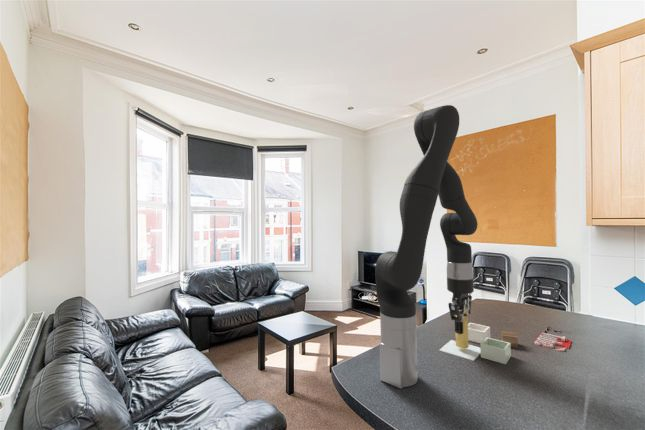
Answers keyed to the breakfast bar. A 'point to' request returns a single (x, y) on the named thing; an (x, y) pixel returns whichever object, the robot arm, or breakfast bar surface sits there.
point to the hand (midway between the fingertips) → (461, 330)
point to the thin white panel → (461, 350)
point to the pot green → (495, 350)
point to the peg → (463, 335)
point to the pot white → (478, 332)
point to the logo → (553, 341)
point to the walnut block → (510, 338)
